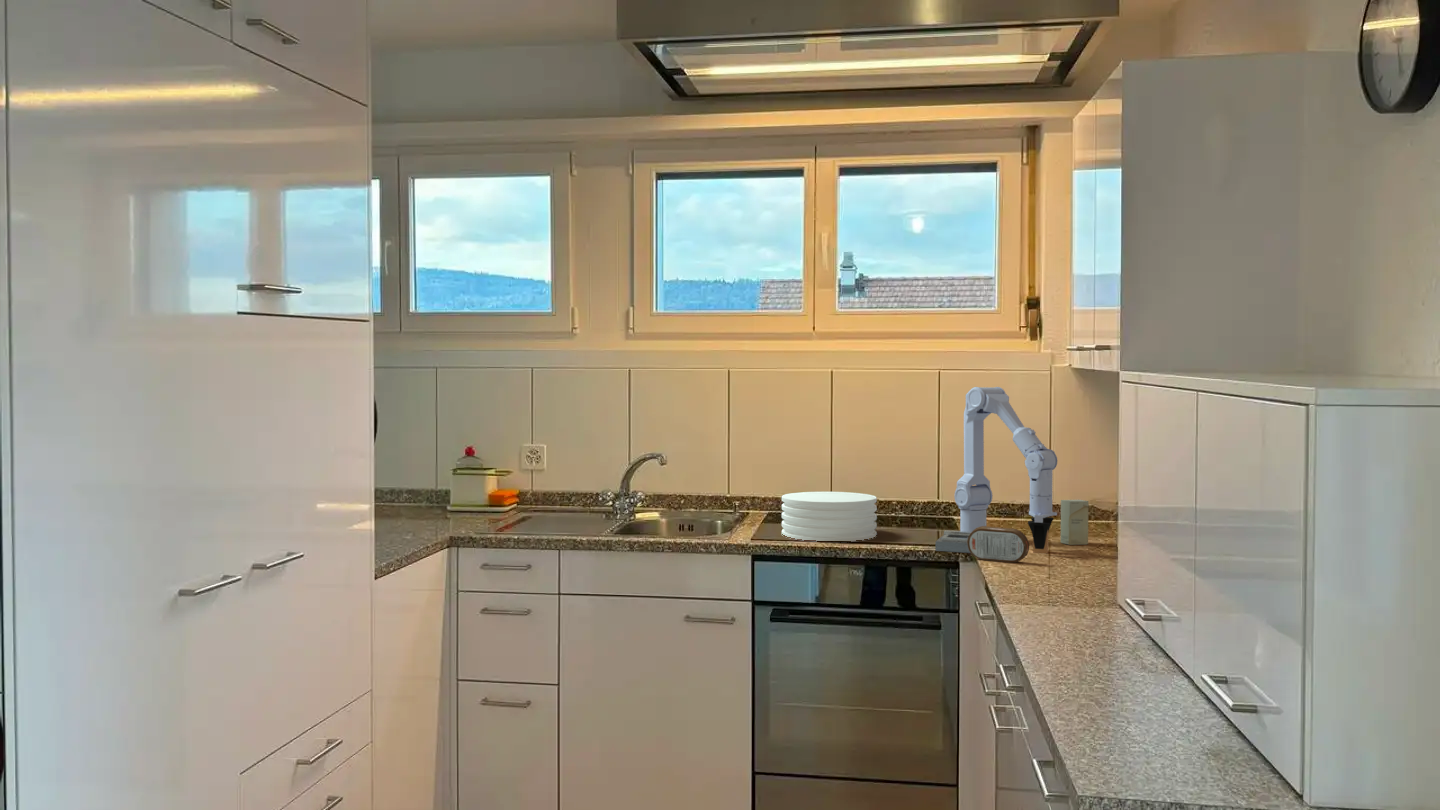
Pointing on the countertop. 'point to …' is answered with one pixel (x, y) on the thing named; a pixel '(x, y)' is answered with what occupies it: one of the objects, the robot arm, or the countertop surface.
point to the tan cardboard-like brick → (1042, 549)
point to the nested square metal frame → (953, 541)
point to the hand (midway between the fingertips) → (1040, 546)
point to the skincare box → (1074, 522)
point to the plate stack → (829, 516)
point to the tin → (998, 544)
